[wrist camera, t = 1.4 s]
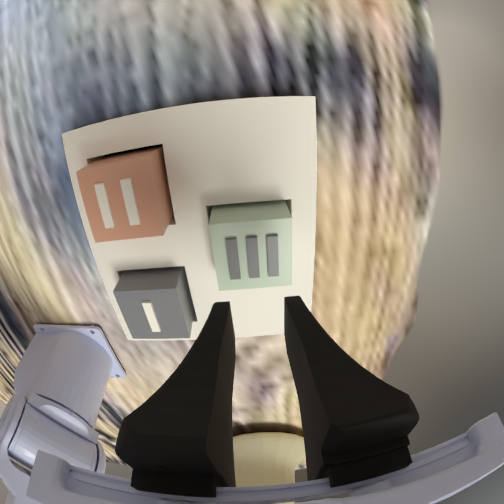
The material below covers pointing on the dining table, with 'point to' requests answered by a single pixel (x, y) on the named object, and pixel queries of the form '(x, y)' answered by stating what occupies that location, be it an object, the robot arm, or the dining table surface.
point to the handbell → (267, 458)
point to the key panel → (213, 195)
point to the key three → (252, 244)
